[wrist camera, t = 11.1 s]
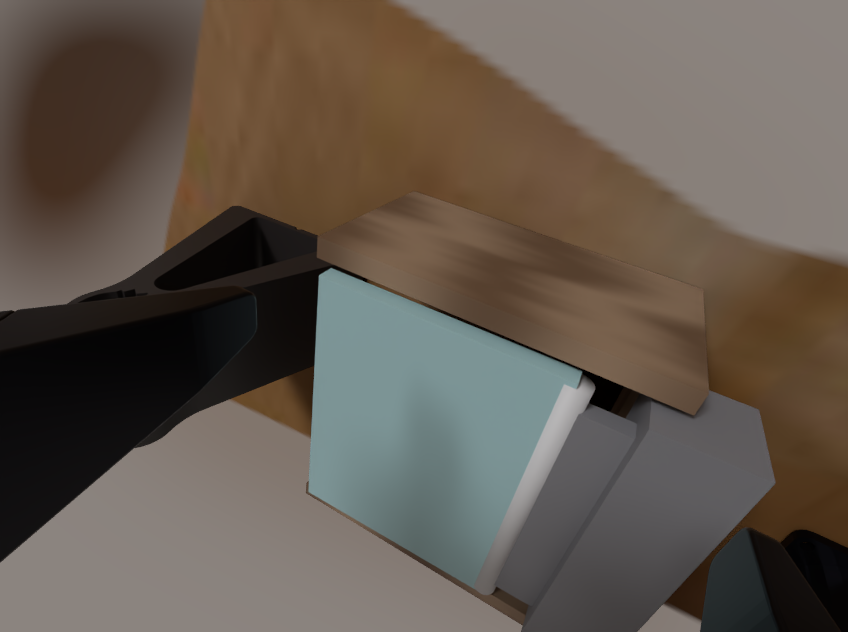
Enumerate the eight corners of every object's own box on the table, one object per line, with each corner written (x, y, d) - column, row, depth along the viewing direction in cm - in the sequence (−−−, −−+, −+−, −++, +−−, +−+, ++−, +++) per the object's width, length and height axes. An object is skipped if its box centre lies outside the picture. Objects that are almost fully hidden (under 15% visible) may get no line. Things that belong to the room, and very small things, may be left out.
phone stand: (242, 292, 30) (39, 397, 21) (237, 203, 27) (-8, 280, 17) (358, 346, 27) (184, 495, 18) (368, 254, 24) (161, 378, 15)
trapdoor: (759, 409, 14) (775, 483, 11) (604, 605, 20) (594, 677, 18) (356, 252, 18) (306, 282, 15) (336, 458, 24) (299, 502, 22)
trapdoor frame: (703, 289, 17) (709, 393, 12) (573, 511, 25) (541, 637, 20) (414, 191, 21) (317, 236, 16) (378, 411, 29) (306, 493, 23)
